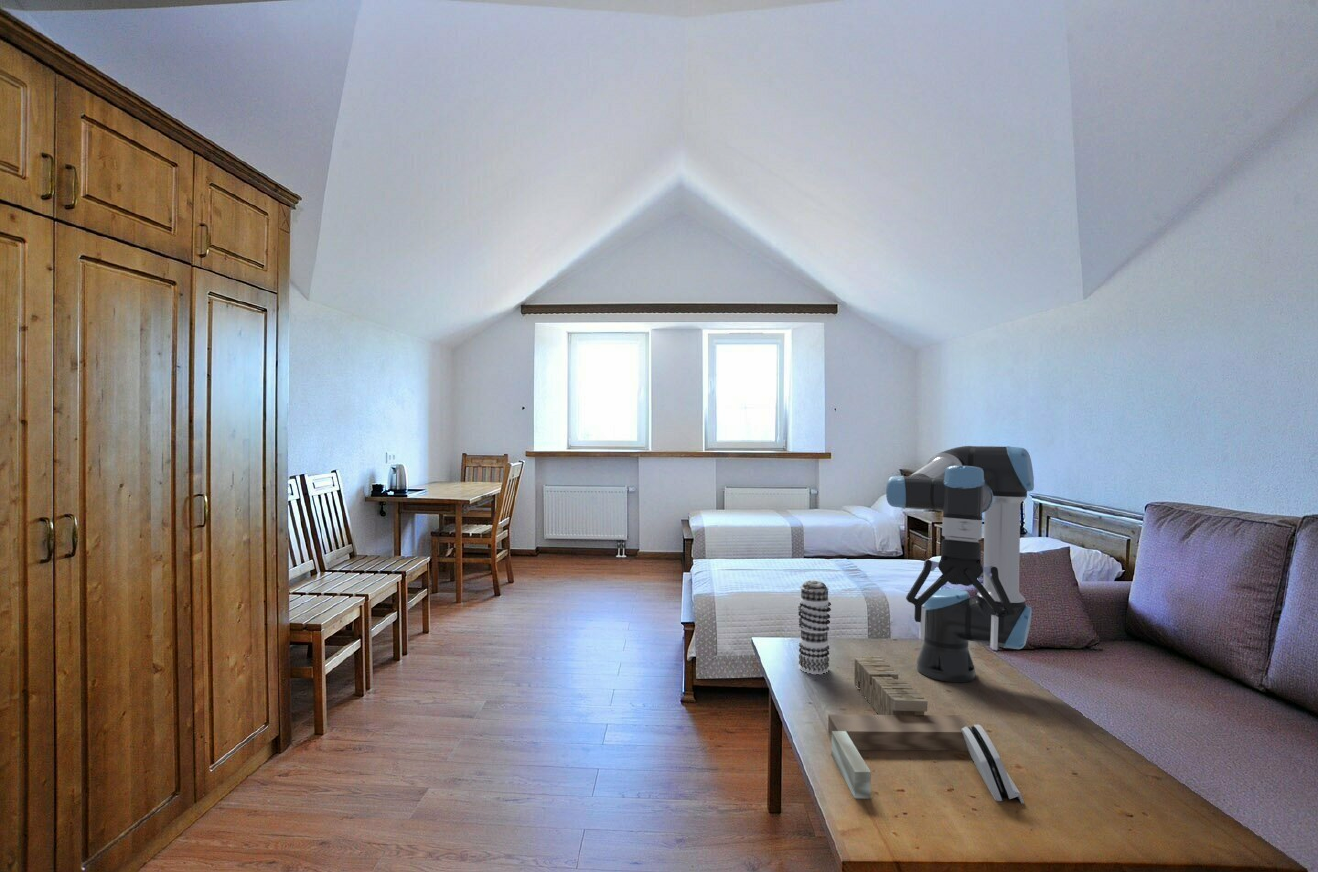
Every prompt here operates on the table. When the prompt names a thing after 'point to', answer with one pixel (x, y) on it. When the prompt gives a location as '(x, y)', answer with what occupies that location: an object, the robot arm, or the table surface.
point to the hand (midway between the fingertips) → (957, 643)
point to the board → (888, 740)
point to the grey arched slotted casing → (989, 763)
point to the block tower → (886, 688)
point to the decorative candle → (814, 627)
